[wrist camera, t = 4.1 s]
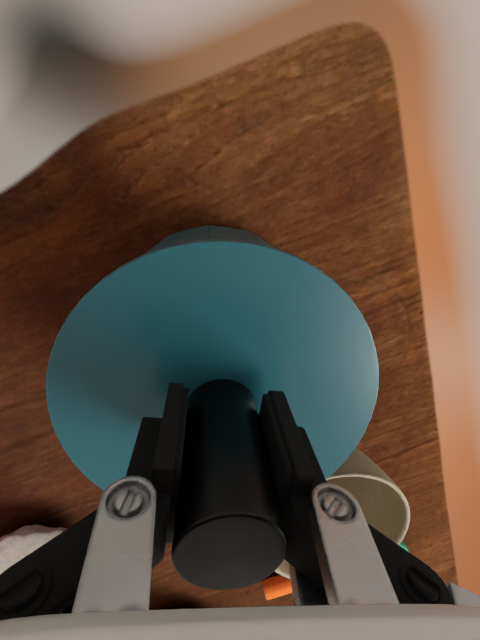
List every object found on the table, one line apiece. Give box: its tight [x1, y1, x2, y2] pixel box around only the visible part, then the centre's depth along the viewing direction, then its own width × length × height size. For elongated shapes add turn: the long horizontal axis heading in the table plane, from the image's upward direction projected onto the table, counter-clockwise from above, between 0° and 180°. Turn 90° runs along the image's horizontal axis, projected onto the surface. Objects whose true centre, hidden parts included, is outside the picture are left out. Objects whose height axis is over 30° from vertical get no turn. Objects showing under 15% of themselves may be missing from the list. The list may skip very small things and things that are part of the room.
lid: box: [46, 239, 379, 590], centre depth 11 cm, size 13×13×7 cm
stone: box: [0, 524, 67, 574], centre depth 26 cm, size 9×13×5 cm
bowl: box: [275, 448, 410, 579], centre depth 23 cm, size 10×10×7 cm
